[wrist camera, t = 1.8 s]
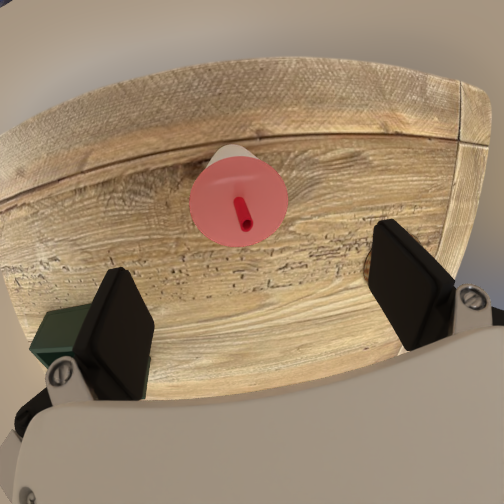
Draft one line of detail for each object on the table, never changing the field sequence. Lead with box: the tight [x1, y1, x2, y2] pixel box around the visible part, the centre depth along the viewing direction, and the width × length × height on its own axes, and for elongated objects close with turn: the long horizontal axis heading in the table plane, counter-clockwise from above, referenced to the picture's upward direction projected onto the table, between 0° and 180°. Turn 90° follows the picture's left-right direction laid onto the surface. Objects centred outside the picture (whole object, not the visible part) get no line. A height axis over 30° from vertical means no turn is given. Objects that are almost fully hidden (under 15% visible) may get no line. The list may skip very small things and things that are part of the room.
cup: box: [189, 144, 288, 247], centre depth 17 cm, size 5×5×12 cm
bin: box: [29, 304, 151, 399], centre depth 29 cm, size 12×12×7 cm
